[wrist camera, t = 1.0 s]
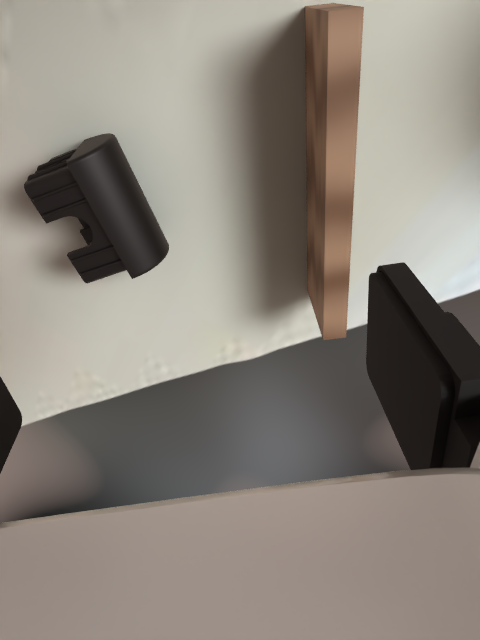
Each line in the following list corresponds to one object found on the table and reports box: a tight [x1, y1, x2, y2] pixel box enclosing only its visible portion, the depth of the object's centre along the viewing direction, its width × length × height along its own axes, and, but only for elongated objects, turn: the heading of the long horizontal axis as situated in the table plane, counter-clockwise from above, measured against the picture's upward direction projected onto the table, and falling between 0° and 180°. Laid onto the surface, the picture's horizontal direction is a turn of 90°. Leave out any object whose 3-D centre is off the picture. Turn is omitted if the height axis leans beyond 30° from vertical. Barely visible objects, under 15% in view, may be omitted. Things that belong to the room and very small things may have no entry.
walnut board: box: [305, 3, 364, 340], centre depth 36 cm, size 24×2×8 cm, turn 6°
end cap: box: [24, 134, 169, 283], centre depth 37 cm, size 10×7×7 cm
